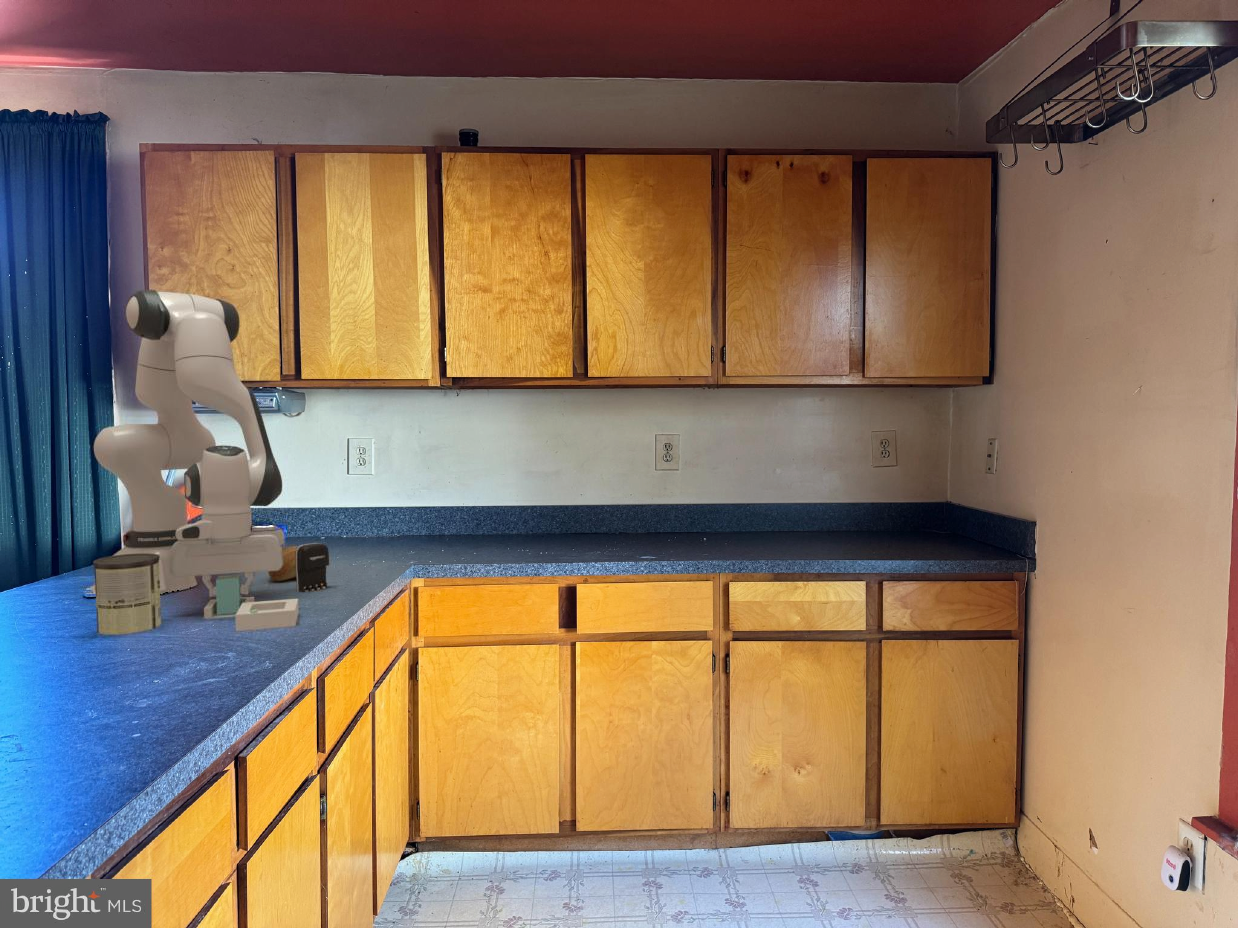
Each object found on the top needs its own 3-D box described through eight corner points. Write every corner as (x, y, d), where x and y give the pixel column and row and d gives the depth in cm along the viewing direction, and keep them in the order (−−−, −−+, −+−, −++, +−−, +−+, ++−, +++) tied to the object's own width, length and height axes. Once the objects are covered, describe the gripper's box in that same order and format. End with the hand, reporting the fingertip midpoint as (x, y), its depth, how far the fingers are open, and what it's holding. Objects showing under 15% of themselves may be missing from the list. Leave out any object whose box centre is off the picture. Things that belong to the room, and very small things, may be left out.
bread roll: (255, 583, 184) (255, 551, 184) (292, 571, 199) (292, 541, 198) (291, 584, 182) (290, 552, 182) (325, 572, 197) (325, 542, 197)
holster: (204, 623, 146) (203, 608, 146) (211, 614, 153) (210, 599, 153) (249, 620, 149) (249, 605, 148) (254, 610, 156) (254, 596, 156)
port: (236, 636, 137) (235, 612, 137) (243, 623, 146) (242, 600, 146) (295, 631, 140) (294, 608, 140) (298, 618, 150) (298, 596, 150)
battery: (304, 597, 168) (302, 546, 168) (294, 595, 170) (293, 545, 170) (332, 591, 174) (331, 543, 173) (323, 589, 176) (322, 541, 175)
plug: (216, 614, 148) (215, 579, 148) (220, 610, 152) (219, 575, 152) (239, 612, 150) (238, 578, 149) (241, 608, 154) (241, 574, 153)
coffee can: (88, 633, 139) (85, 558, 138) (150, 622, 147) (147, 551, 146) (107, 644, 133) (104, 565, 132) (171, 631, 141) (168, 557, 140)
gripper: (285, 522, 157) (286, 588, 157) (173, 527, 150) (175, 595, 150) (282, 526, 151) (284, 594, 151) (166, 531, 144) (168, 602, 144)
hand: (229, 595), depth 151 cm, fingers closed on plug, 4 cm apart
